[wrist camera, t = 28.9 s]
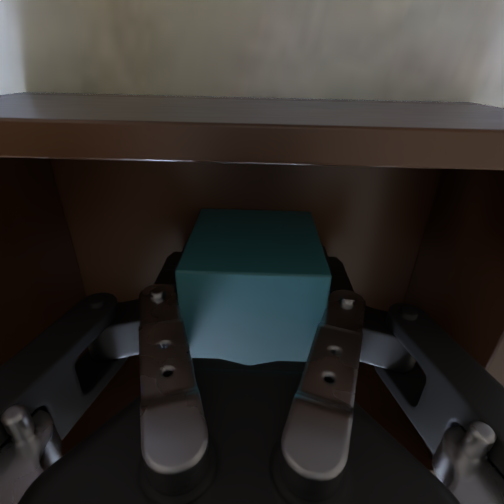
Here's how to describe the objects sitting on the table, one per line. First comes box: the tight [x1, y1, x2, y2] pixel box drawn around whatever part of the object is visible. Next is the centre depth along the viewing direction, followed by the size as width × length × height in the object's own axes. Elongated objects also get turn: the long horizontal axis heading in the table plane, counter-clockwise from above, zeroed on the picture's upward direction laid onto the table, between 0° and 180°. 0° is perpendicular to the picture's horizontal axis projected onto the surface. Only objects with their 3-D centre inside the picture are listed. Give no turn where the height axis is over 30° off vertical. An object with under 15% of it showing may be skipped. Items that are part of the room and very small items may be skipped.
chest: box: [0, 92, 504, 476], centre depth 14 cm, size 18×14×7 cm
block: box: [175, 209, 332, 365], centre depth 14 cm, size 5×5×5 cm
